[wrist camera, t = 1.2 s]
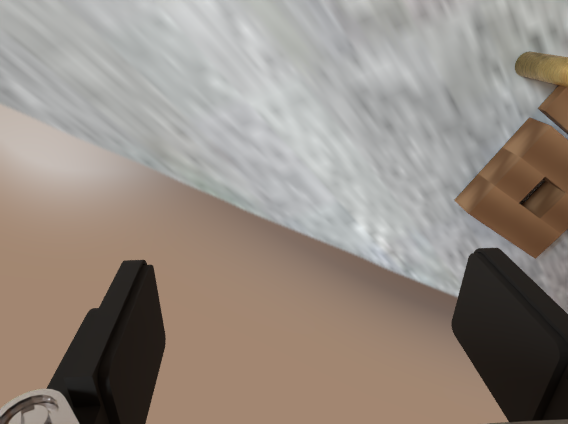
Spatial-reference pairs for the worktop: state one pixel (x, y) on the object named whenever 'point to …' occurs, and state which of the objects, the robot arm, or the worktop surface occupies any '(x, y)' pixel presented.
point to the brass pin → (543, 67)
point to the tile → (557, 107)
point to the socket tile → (523, 189)
